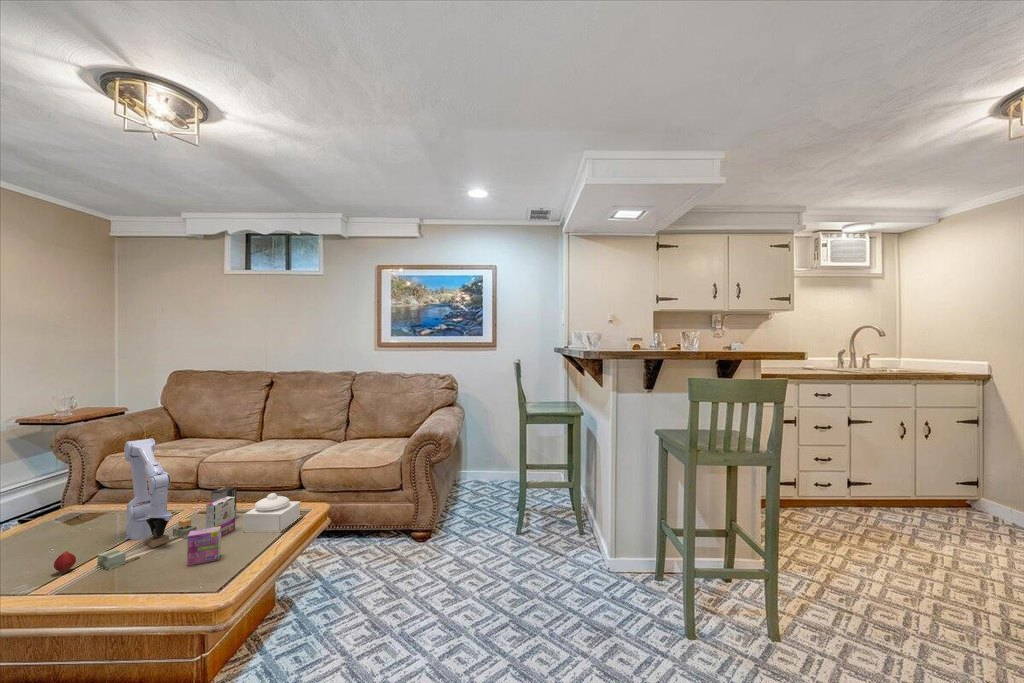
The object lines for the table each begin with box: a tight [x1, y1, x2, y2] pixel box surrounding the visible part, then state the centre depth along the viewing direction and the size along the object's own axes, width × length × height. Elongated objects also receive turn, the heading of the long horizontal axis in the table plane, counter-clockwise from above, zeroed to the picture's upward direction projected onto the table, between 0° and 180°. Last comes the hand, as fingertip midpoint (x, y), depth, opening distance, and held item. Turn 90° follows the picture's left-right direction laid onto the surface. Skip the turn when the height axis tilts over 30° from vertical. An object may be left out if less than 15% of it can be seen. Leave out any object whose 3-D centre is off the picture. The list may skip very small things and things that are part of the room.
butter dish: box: [242, 492, 302, 533], centre depth 208 cm, size 18×18×16 cm
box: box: [186, 526, 222, 567], centre depth 172 cm, size 10×6×12 cm, turn 117°
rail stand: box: [96, 525, 198, 570], centre depth 181 cm, size 8×32×4 cm, turn 160°
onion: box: [53, 550, 77, 573], centre depth 163 cm, size 6×6×8 cm
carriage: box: [143, 528, 170, 547], centre depth 183 cm, size 6×6×6 cm
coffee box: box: [211, 485, 237, 519], centre depth 213 cm, size 9×6×16 cm
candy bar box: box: [205, 496, 236, 538], centre depth 195 cm, size 11×5×16 cm, turn 168°
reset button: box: [178, 518, 192, 530], centre depth 193 cm, size 3×3×4 cm
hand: (157, 535), depth 183 cm, fingers closed on carriage, 2 cm apart
